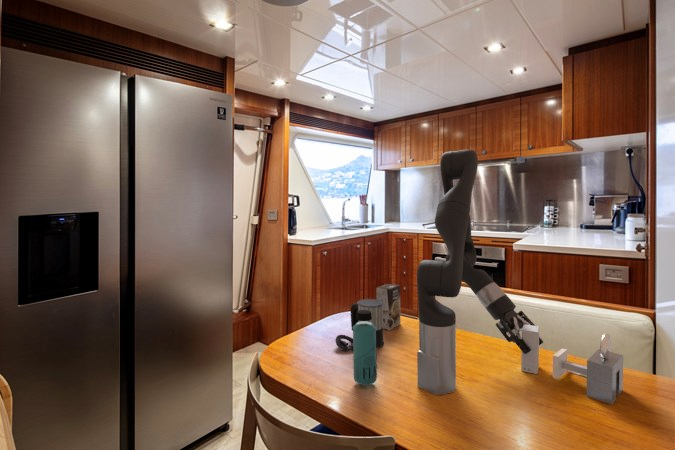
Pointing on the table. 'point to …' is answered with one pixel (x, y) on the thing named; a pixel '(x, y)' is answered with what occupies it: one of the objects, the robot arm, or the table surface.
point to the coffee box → (389, 304)
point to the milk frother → (376, 320)
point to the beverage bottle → (364, 349)
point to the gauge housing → (604, 373)
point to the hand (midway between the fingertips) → (534, 348)
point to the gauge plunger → (565, 365)
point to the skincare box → (531, 358)
